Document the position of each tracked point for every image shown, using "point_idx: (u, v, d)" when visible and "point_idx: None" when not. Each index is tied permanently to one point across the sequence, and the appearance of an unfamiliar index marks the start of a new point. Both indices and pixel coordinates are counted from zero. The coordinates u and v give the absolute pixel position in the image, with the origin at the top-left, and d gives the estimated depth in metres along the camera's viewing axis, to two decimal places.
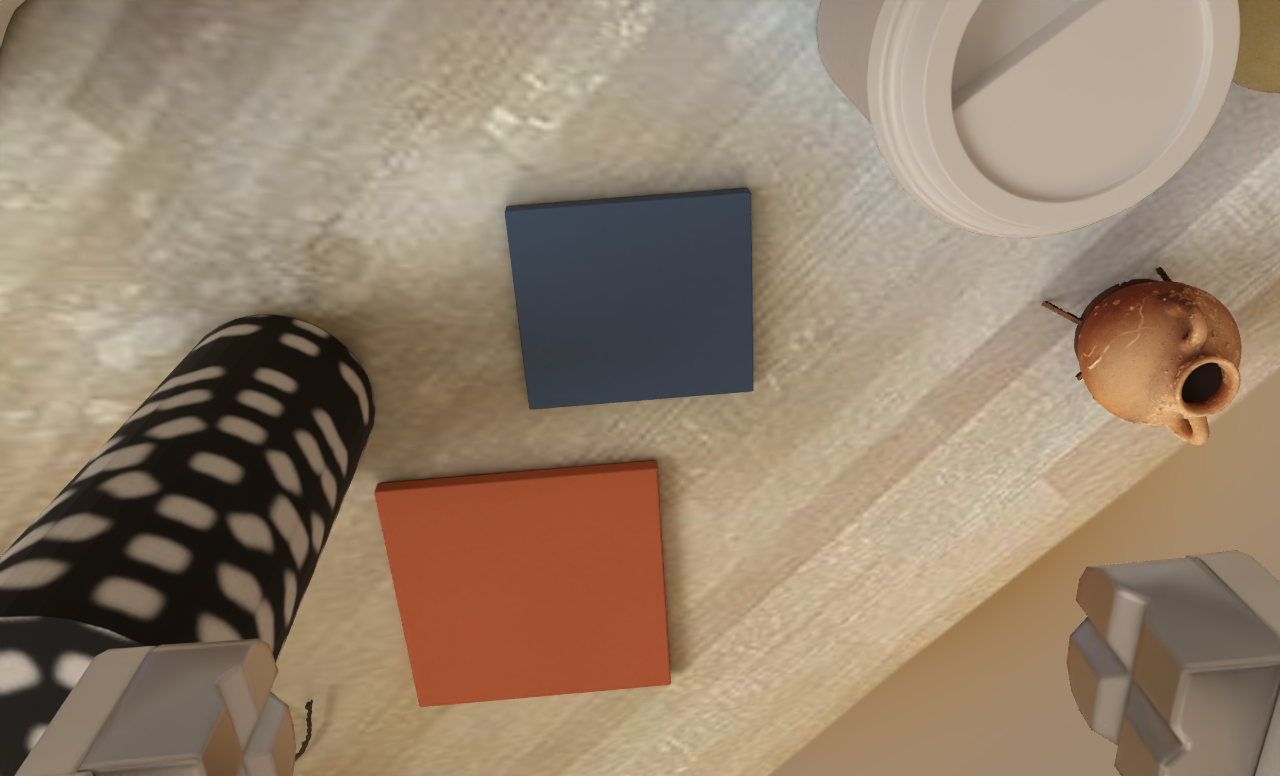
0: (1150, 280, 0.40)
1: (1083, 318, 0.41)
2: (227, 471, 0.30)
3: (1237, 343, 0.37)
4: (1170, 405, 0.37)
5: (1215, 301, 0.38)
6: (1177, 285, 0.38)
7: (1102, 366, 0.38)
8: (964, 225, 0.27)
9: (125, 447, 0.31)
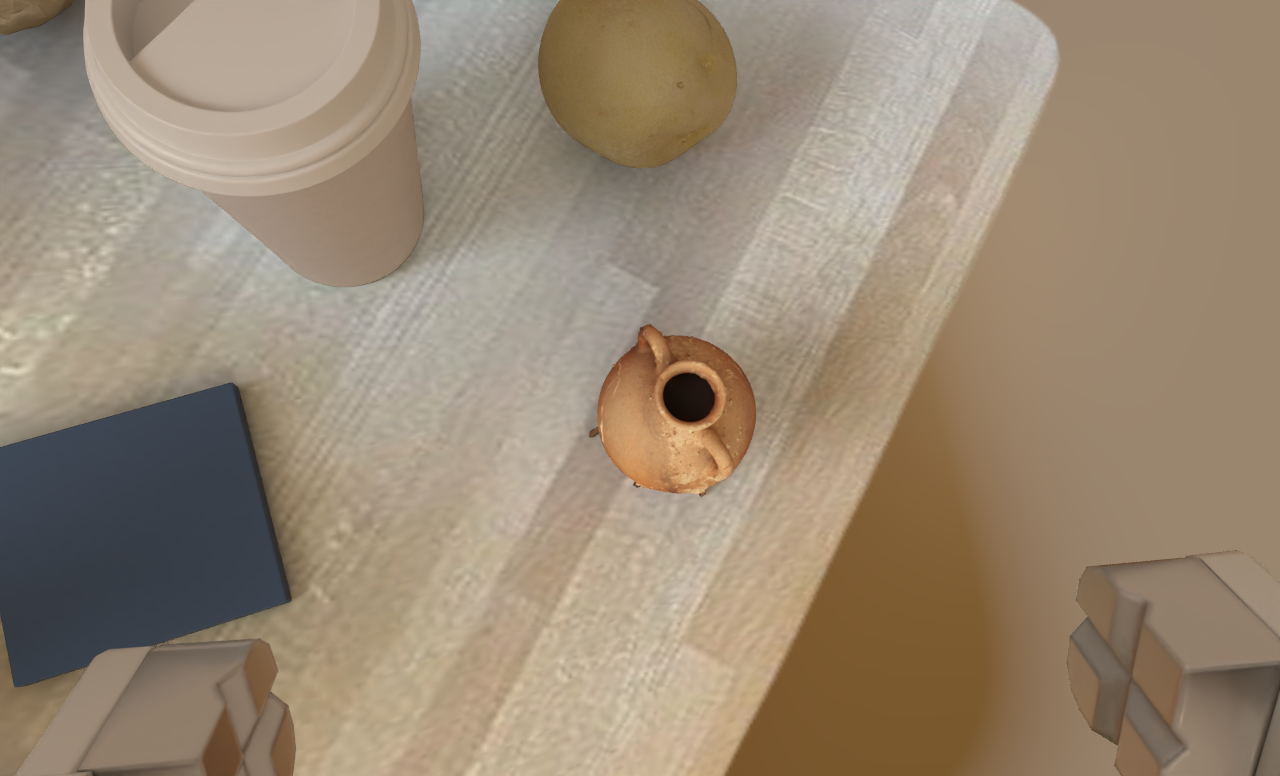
0: None
1: None
2: None
3: (727, 364, 0.35)
4: (674, 433, 0.33)
5: None
6: None
7: (605, 428, 0.35)
8: (211, 178, 0.27)
9: None
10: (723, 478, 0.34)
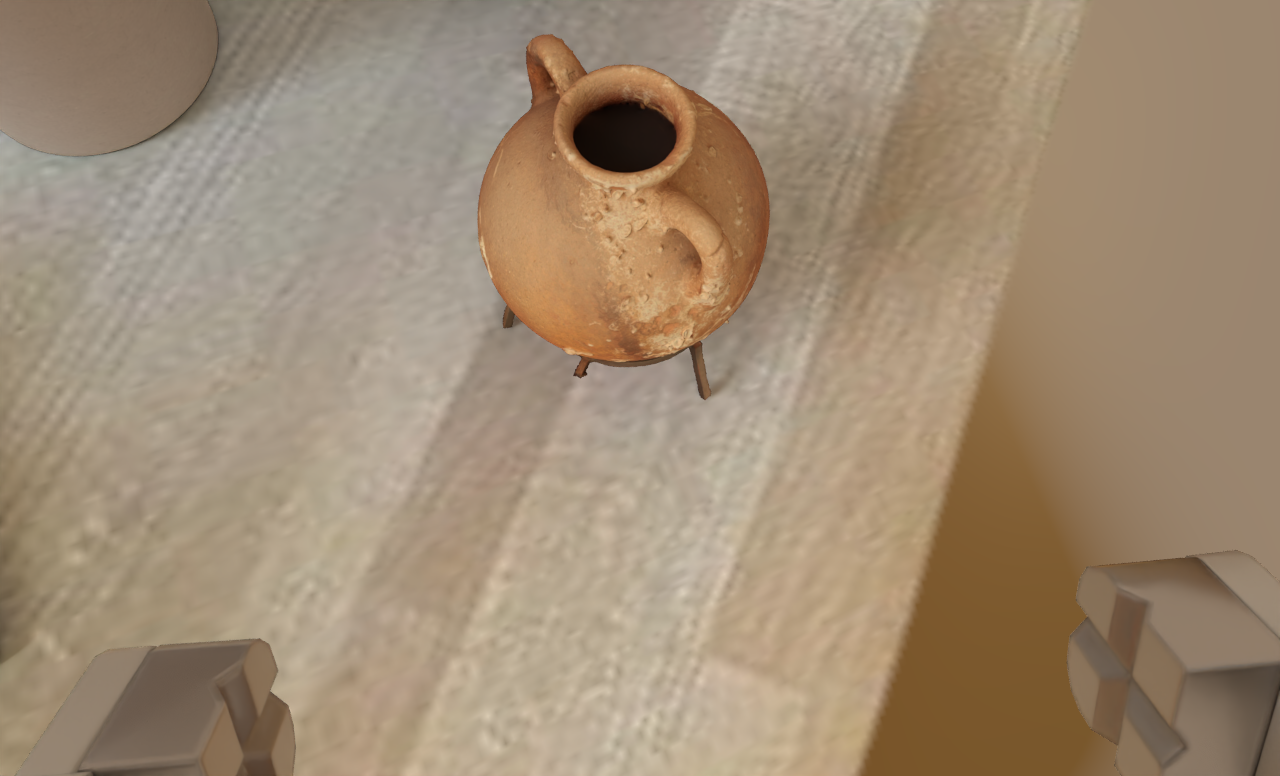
0: None
1: None
2: None
3: (698, 99, 0.19)
4: (605, 209, 0.17)
5: None
6: None
7: (488, 244, 0.19)
8: None
9: None
10: (716, 286, 0.17)
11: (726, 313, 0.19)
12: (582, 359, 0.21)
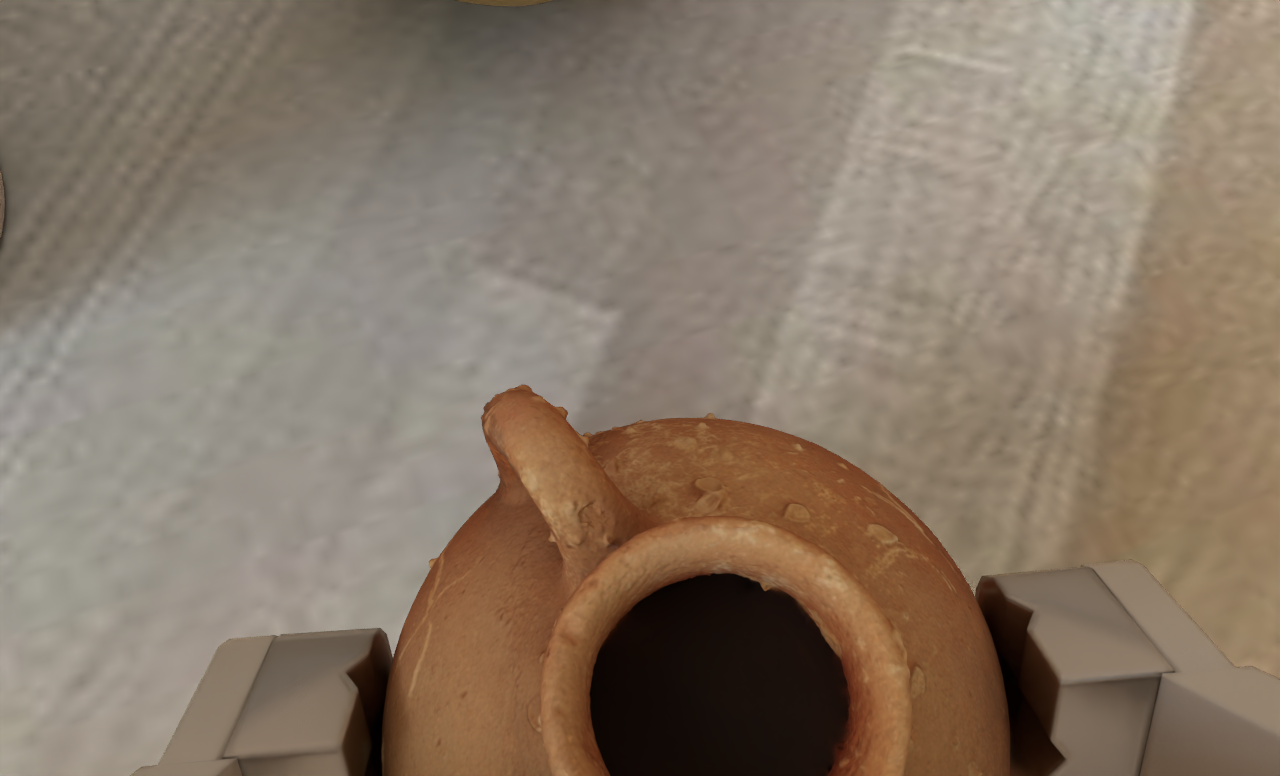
0: None
1: None
2: None
3: (863, 504, 0.09)
4: None
5: None
6: None
7: None
8: None
9: None
10: None
11: None
12: None
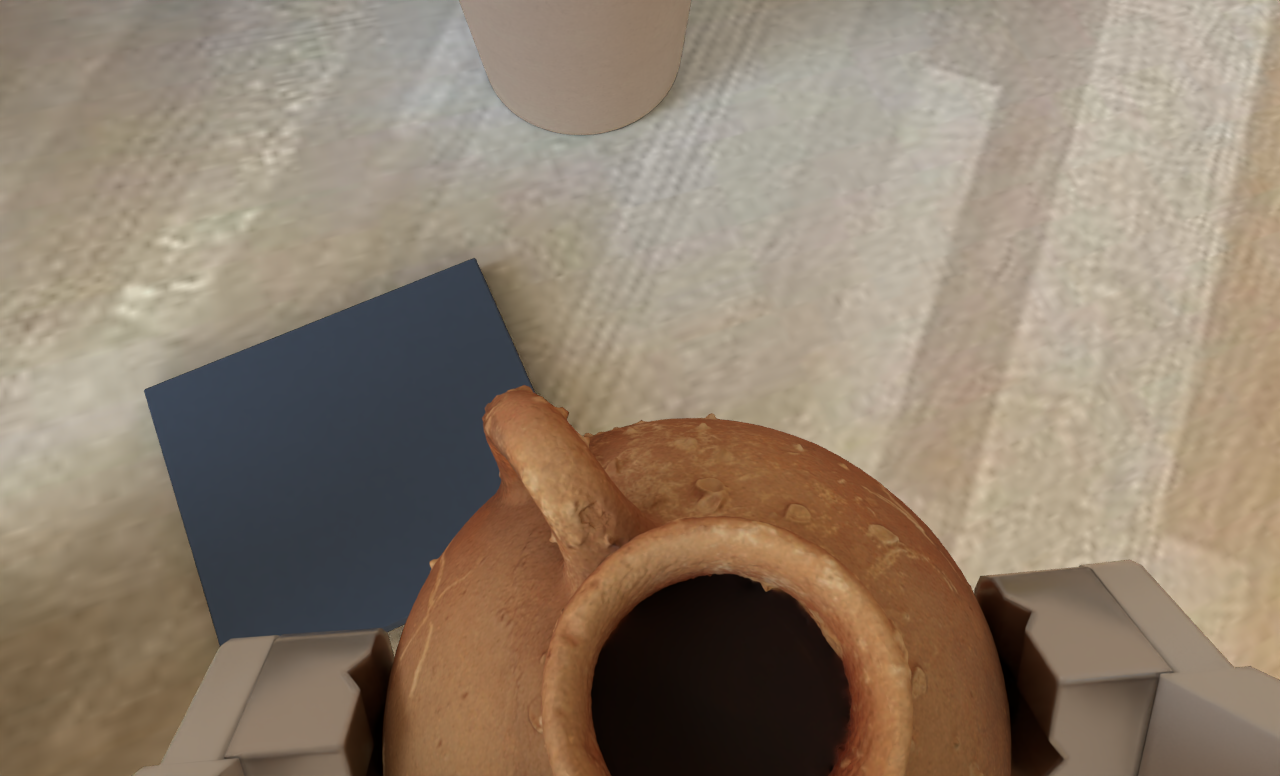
0: None
1: None
2: None
3: (864, 504, 0.09)
4: None
5: (718, 419, 0.10)
6: None
7: None
8: None
9: None
10: None
11: None
12: None
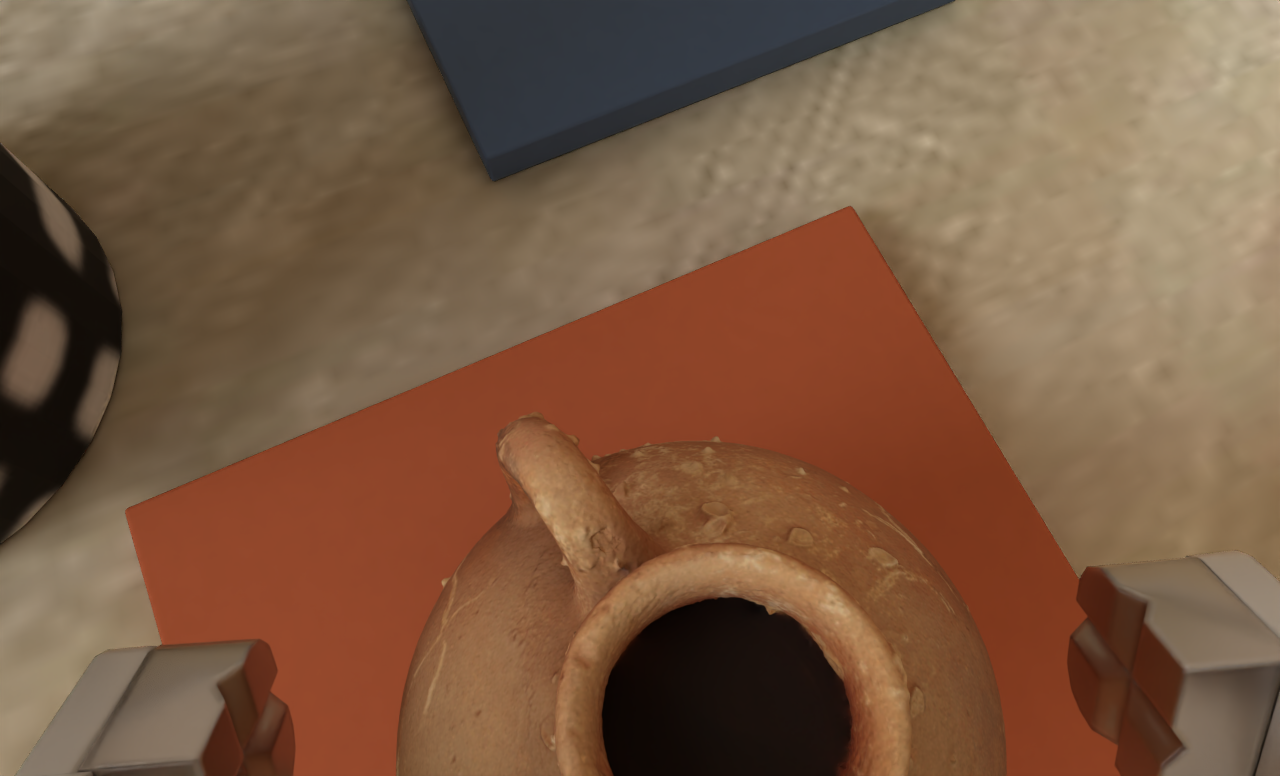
0: None
1: None
2: None
3: (864, 527, 0.09)
4: None
5: (722, 442, 0.10)
6: None
7: None
8: None
9: None
10: None
11: None
12: None
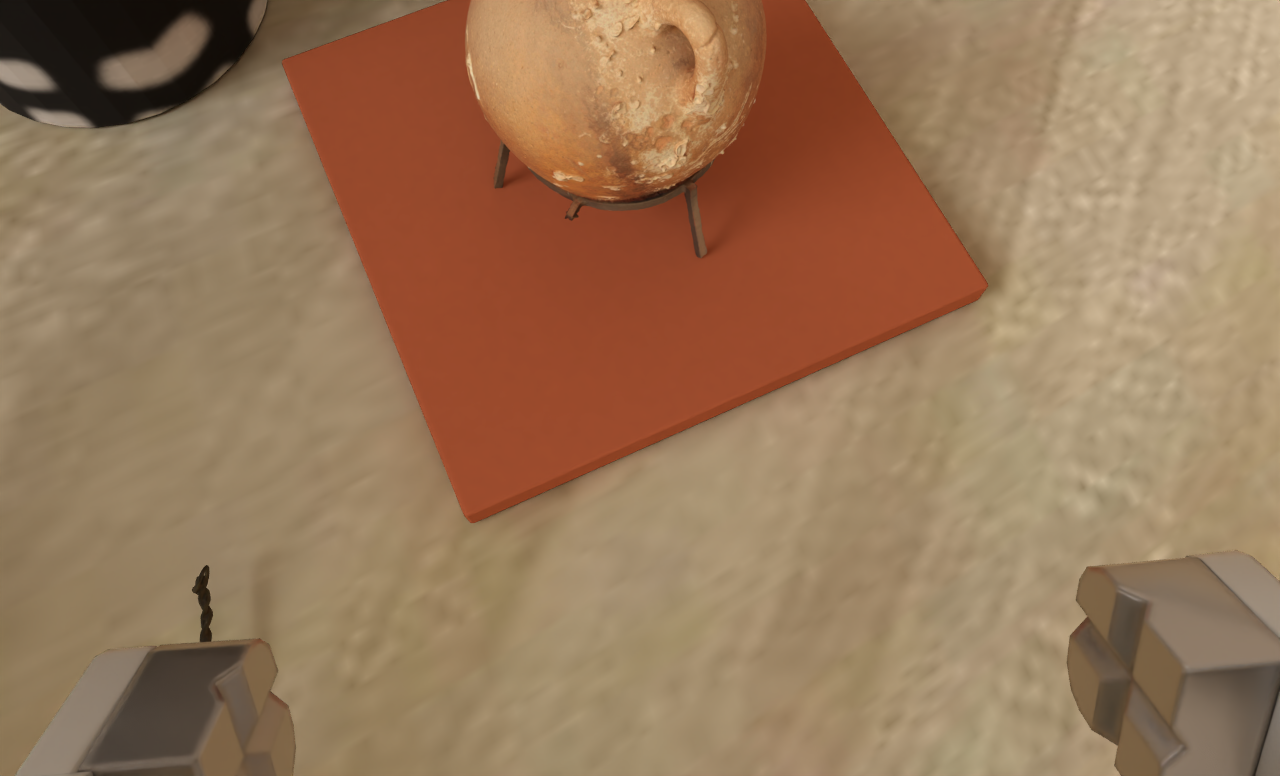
0: None
1: None
2: None
3: None
4: (595, 4, 0.16)
5: None
6: None
7: (475, 59, 0.18)
8: None
9: None
10: (710, 85, 0.16)
11: (721, 134, 0.18)
12: (573, 201, 0.20)
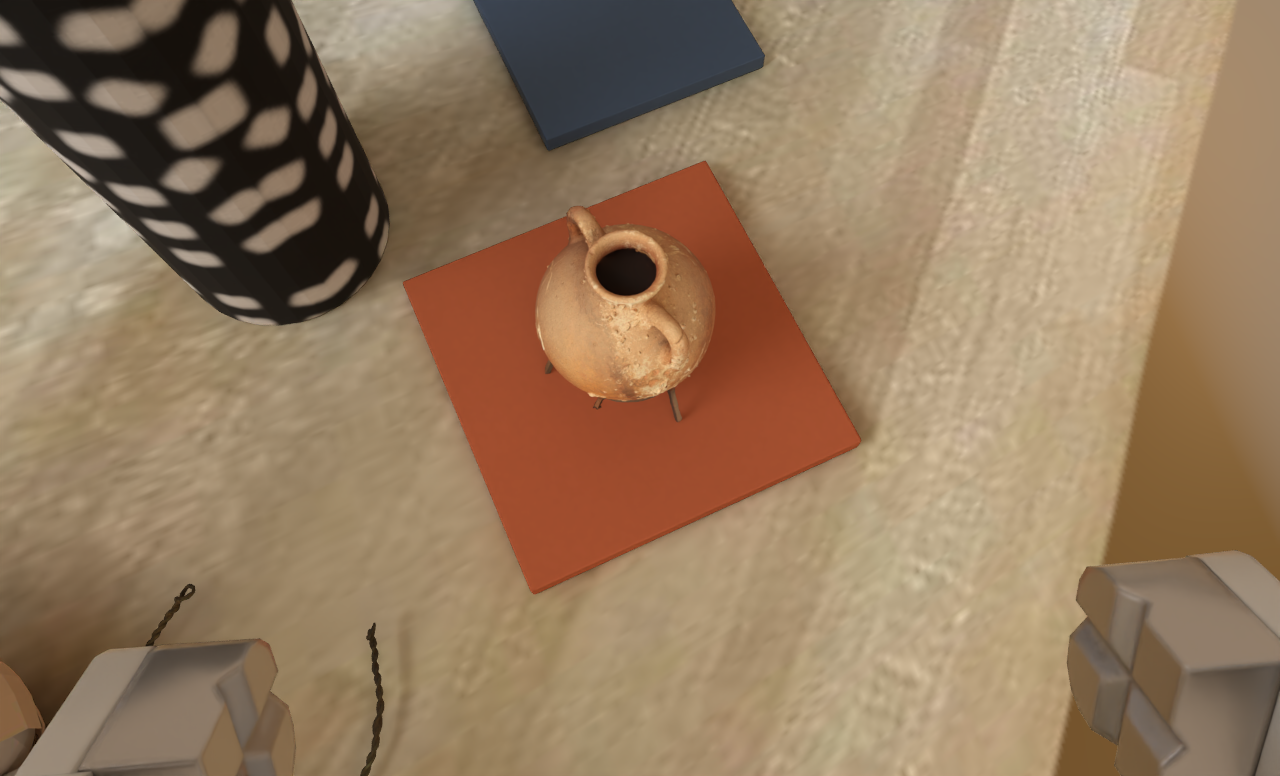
0: None
1: None
2: None
3: (671, 241, 0.31)
4: (614, 314, 0.29)
5: (633, 225, 0.32)
6: None
7: (543, 330, 0.31)
8: None
9: None
10: (679, 359, 0.29)
11: (687, 372, 0.31)
12: (598, 397, 0.33)
